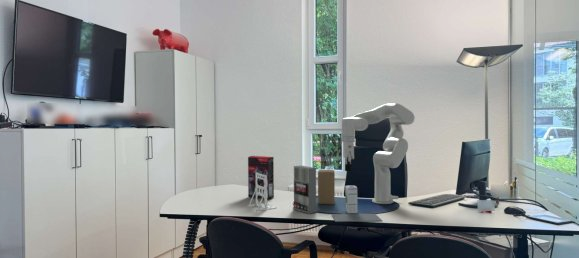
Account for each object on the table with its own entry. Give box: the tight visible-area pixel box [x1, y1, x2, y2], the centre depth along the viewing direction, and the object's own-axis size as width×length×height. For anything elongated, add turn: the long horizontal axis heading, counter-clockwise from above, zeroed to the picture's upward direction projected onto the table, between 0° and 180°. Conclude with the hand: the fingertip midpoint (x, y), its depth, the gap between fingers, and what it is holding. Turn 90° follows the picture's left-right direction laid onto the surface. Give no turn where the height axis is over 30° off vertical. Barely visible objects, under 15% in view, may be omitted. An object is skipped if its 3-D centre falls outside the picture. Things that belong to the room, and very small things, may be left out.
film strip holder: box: [246, 173, 278, 212], centre depth 234 cm, size 14×14×20 cm
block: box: [317, 169, 336, 205], centre depth 245 cm, size 10×10×20 cm
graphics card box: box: [247, 155, 275, 200], centre depth 262 cm, size 17×7×27 cm, turn 58°
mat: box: [331, 213, 383, 223], centre depth 209 cm, size 24×14×1 cm, turn 92°
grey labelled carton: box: [292, 165, 318, 215], centre depth 225 cm, size 14×6×25 cm, turn 37°
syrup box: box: [344, 185, 358, 214], centre depth 222 cm, size 6×6×14 cm
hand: (347, 170), depth 230 cm, fingers closed
